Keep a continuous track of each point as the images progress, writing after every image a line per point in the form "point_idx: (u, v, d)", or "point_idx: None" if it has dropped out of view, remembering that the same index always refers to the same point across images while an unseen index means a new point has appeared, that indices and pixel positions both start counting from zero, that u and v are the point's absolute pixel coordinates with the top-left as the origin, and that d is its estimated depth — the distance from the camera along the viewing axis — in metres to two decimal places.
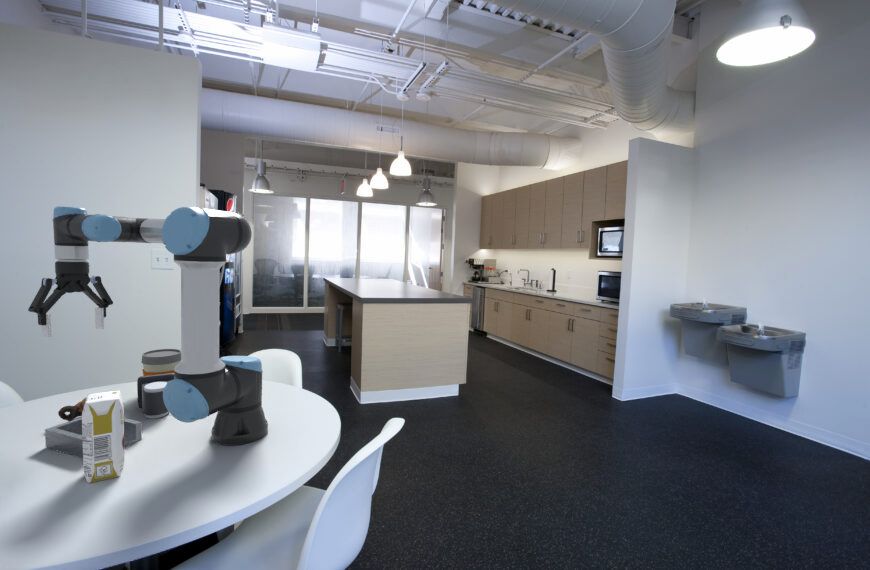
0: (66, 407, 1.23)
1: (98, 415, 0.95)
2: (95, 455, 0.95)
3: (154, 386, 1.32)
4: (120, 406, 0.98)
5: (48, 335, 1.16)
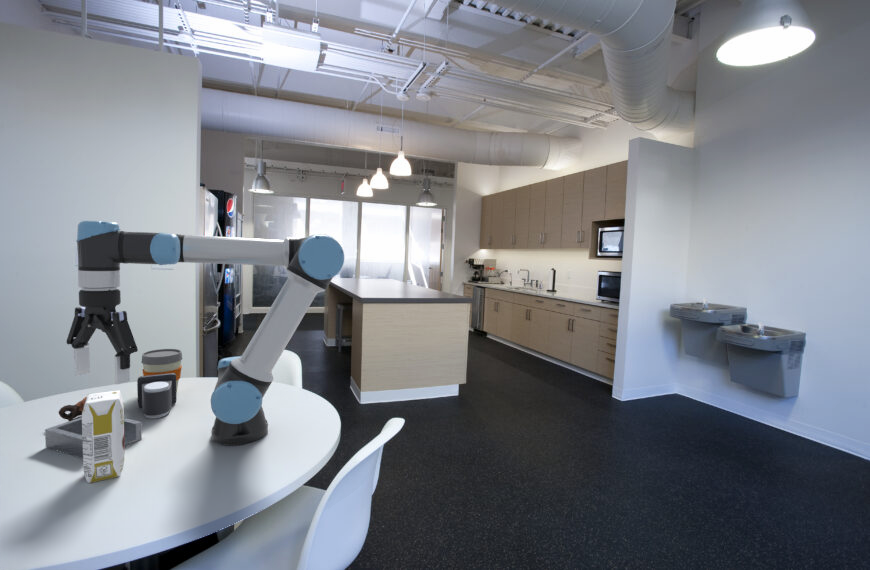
0: (66, 407, 1.23)
1: (98, 415, 0.95)
2: (95, 455, 0.95)
3: (154, 386, 1.32)
4: (120, 406, 0.98)
5: None
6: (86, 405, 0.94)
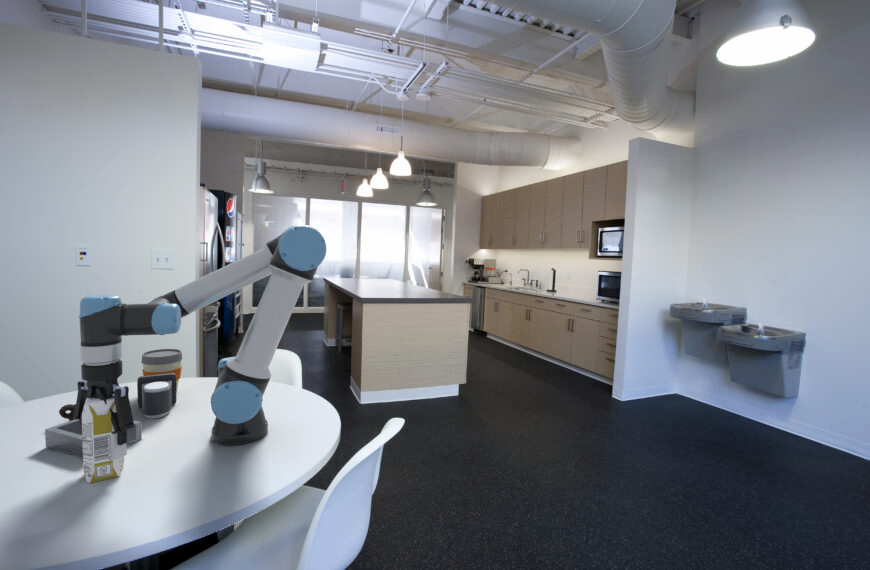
0: (67, 406, 1.24)
1: (98, 415, 0.95)
2: (95, 455, 0.95)
3: (154, 386, 1.32)
4: None
5: None
6: (86, 405, 0.94)
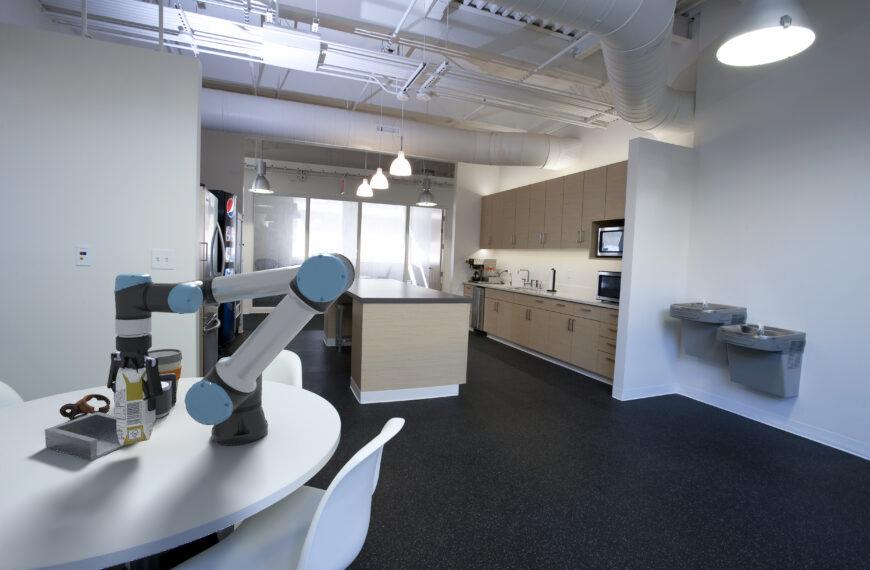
0: (67, 405, 1.24)
1: (130, 383, 1.03)
2: (127, 419, 1.04)
3: None
4: None
5: None
6: (120, 373, 1.03)
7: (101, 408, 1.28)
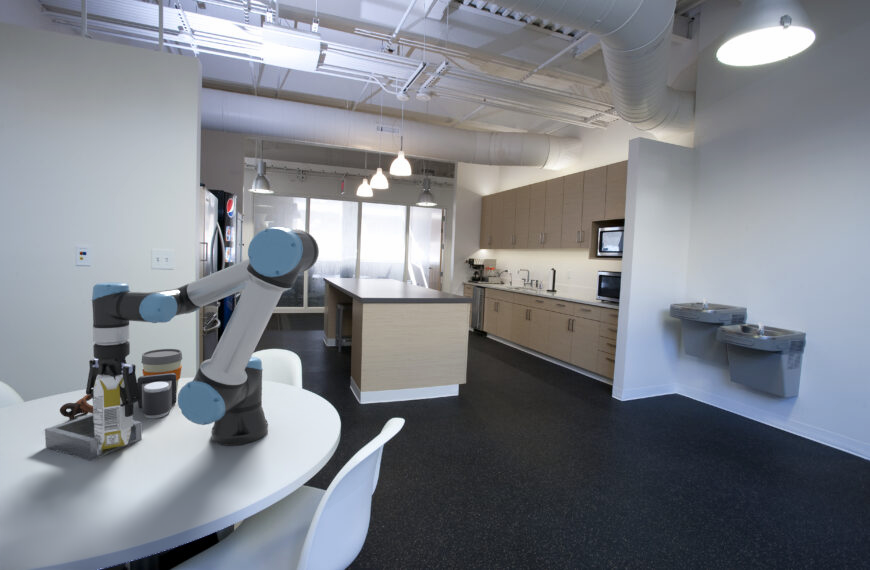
0: (67, 404, 1.25)
1: (108, 389, 1.06)
2: (105, 425, 1.07)
3: (154, 386, 1.32)
4: None
5: None
6: (97, 380, 1.05)
7: None
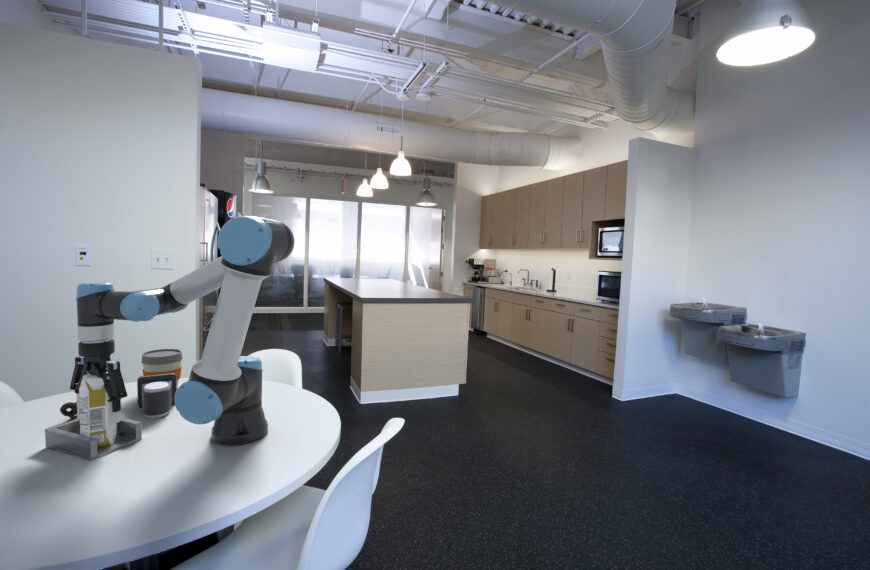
0: (67, 404, 1.25)
1: (93, 390, 1.08)
2: (90, 425, 1.08)
3: (154, 386, 1.32)
4: None
5: None
6: (83, 381, 1.07)
7: None
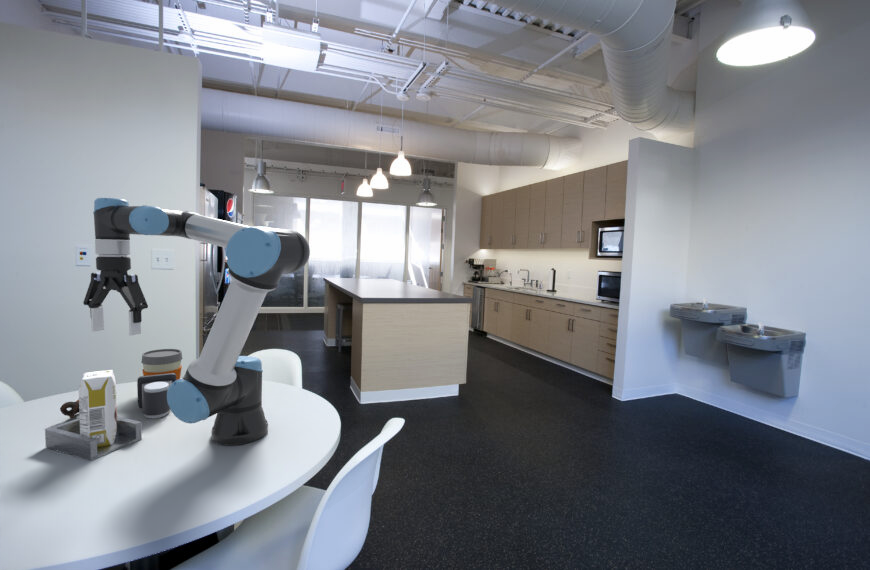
0: (68, 403, 1.26)
1: (92, 390, 1.08)
2: (90, 425, 1.09)
3: (154, 386, 1.32)
4: (112, 383, 1.11)
5: None
6: (82, 381, 1.07)
7: None
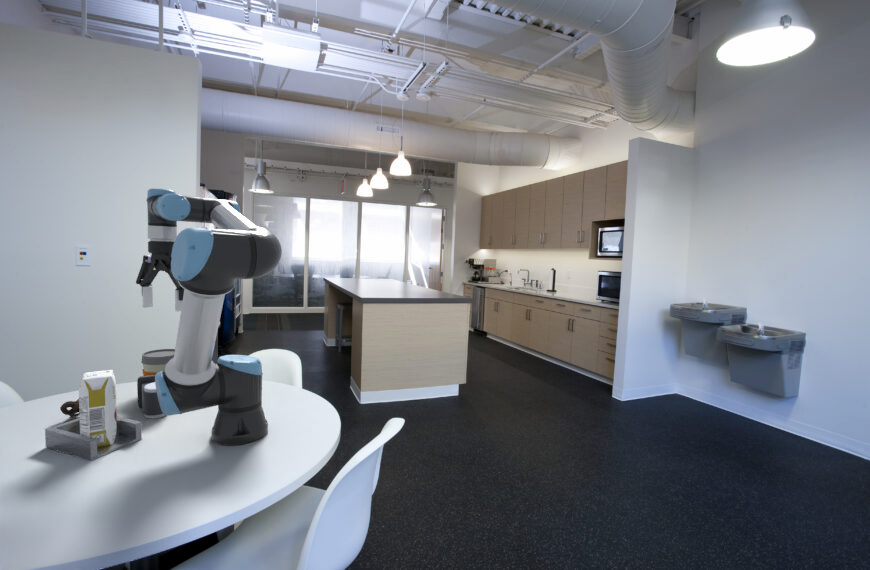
0: (68, 403, 1.26)
1: (93, 390, 1.08)
2: (90, 425, 1.09)
3: (154, 386, 1.32)
4: (112, 383, 1.11)
5: None
6: (82, 381, 1.07)
7: None
